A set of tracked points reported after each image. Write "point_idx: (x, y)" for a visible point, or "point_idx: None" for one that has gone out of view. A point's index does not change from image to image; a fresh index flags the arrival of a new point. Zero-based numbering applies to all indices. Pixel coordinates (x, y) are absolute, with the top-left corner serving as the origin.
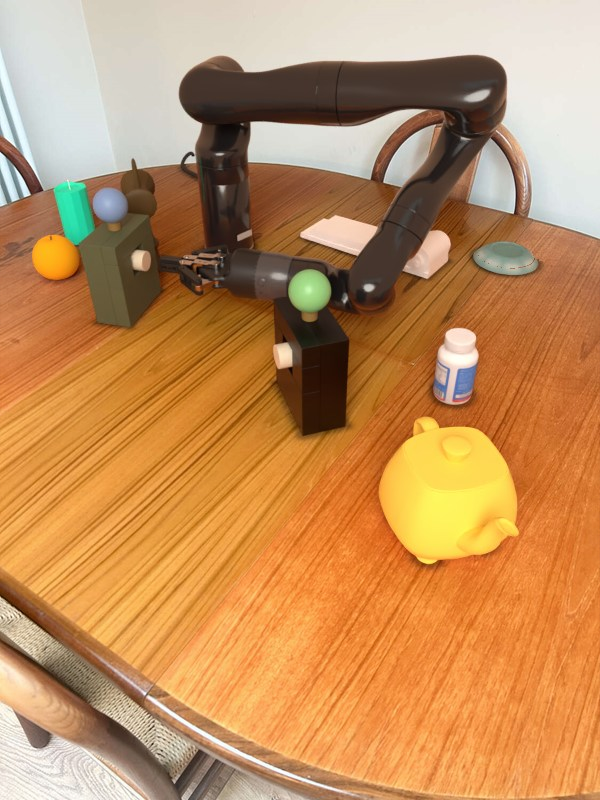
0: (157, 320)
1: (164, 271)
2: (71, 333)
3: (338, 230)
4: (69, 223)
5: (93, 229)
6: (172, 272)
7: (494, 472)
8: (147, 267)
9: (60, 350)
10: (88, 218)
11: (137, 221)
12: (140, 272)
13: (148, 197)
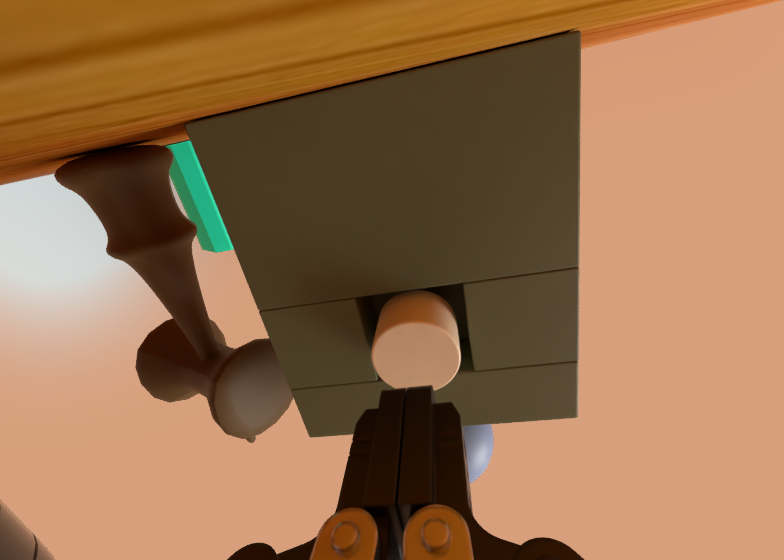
0: (476, 39)
1: (460, 423)
2: (603, 37)
3: None
4: None
5: (179, 168)
6: (465, 471)
7: None
8: (412, 335)
9: (732, 6)
10: (198, 194)
11: None
12: (404, 285)
13: (249, 425)
